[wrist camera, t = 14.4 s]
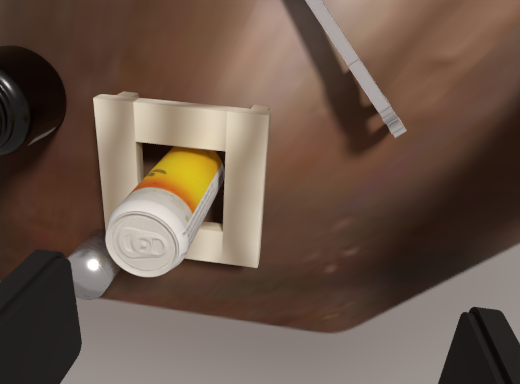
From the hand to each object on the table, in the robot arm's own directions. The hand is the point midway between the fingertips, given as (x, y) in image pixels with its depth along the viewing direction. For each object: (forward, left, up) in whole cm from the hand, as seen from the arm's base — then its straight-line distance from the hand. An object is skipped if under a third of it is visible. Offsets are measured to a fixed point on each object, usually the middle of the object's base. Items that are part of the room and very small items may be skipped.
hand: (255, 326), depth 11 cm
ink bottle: (+27, +4, -33) cm, 43 cm away
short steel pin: (+20, +21, -32) cm, 43 cm away
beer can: (+10, +10, -32) cm, 35 cm away
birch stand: (+10, +10, -32) cm, 35 cm away
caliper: (-2, -4, -33) cm, 33 cm away
